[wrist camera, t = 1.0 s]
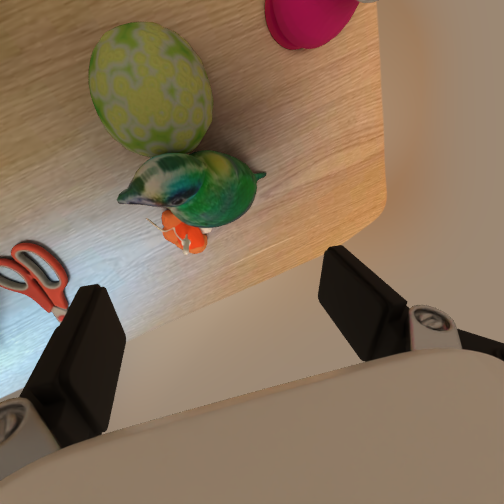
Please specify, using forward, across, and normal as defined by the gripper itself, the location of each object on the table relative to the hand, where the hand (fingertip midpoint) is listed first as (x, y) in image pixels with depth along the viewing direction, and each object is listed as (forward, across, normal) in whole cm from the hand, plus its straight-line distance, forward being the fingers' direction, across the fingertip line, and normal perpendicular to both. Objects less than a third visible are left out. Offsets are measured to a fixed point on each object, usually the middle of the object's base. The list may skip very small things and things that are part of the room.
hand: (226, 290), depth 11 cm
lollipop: (+23, +2, +6) cm, 24 cm away
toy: (+23, -4, +5) cm, 24 cm away
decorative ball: (+23, +3, -7) cm, 25 cm away
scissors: (+24, +20, +17) cm, 36 cm away
